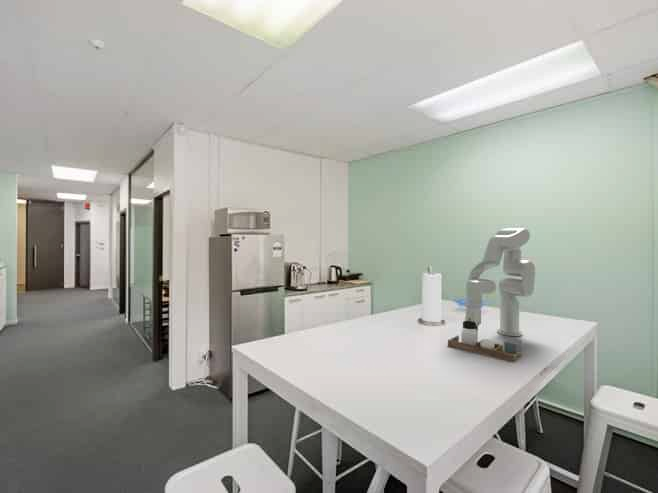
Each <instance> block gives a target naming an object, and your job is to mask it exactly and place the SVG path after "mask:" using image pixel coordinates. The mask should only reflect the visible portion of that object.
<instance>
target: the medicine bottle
mask: <svg viewBox="0 0 658 493" xmlns="http://www.w3.org/2000/svg"><path fill="white" fill-rule="evenodd" d="M477 332H478V331H477V330H476V323H475V322H473V321H465V320H464V321H463V322H462V328H461V337H460V338H461V343H465V344H470V345H474V344H476V343H477V342H478V338H477Z"/></svg>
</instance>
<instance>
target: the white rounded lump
mask: <svg viewBox="0 0 658 493" xmlns="http://www.w3.org/2000/svg"><path fill="white" fill-rule="evenodd" d="M479 341H480V347H483V348H488V349H492V350H494V348H495V344H496V342H495V341H493V340H490V339H480V340H479Z"/></svg>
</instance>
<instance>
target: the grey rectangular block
mask: <svg viewBox="0 0 658 493" xmlns="http://www.w3.org/2000/svg"><path fill="white" fill-rule="evenodd" d="M522 344H523V343H522V340H521V339H518V338H513V337H509V338H507V339H506V340H505V341H504V344H503V346H504V347H503V348H504V349H503V352H505V353H510V354H514V355H515V354H516V353H517V352H518V351H521V352H522V348H523V347H522V346H523V345H522Z"/></svg>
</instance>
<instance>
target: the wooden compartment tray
mask: <svg viewBox="0 0 658 493" xmlns="http://www.w3.org/2000/svg"><path fill="white" fill-rule="evenodd" d="M459 340H460V337H459V335H456V336H454V337H452V338H449V339H448V340H447V347H451V348H455V349H458V350H463V351H468V352H471V353H474V354H475V353H476V354H479V355H484V356H488V357H492V358H495V359H501V360H504V361H509V362H513V363H514V362H515V361H517V360H518V359H519V358H520V357H522V351H518V352H517V353H516V354H515V355H514V354H510V353H505V352H504V349H503V348H504V347H503V346H504V344H499V343H495V348H494V350H492V349H488V348H483V347H480V340H479V341H477V343H476V344H474V345H470V344H465V343H461V342H460V341H459Z"/></svg>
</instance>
